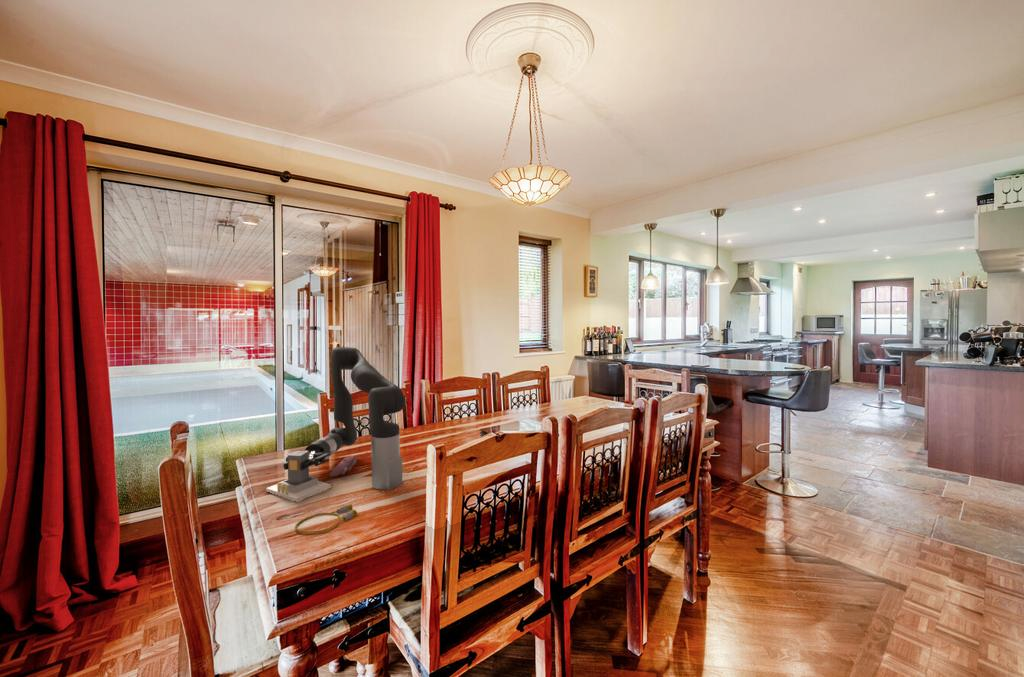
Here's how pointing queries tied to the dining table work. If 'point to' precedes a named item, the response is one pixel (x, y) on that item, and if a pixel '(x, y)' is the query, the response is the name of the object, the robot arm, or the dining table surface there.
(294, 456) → the block
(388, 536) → the dining table surface
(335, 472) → the purple lumpy piece
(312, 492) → the board
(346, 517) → the extension cord
